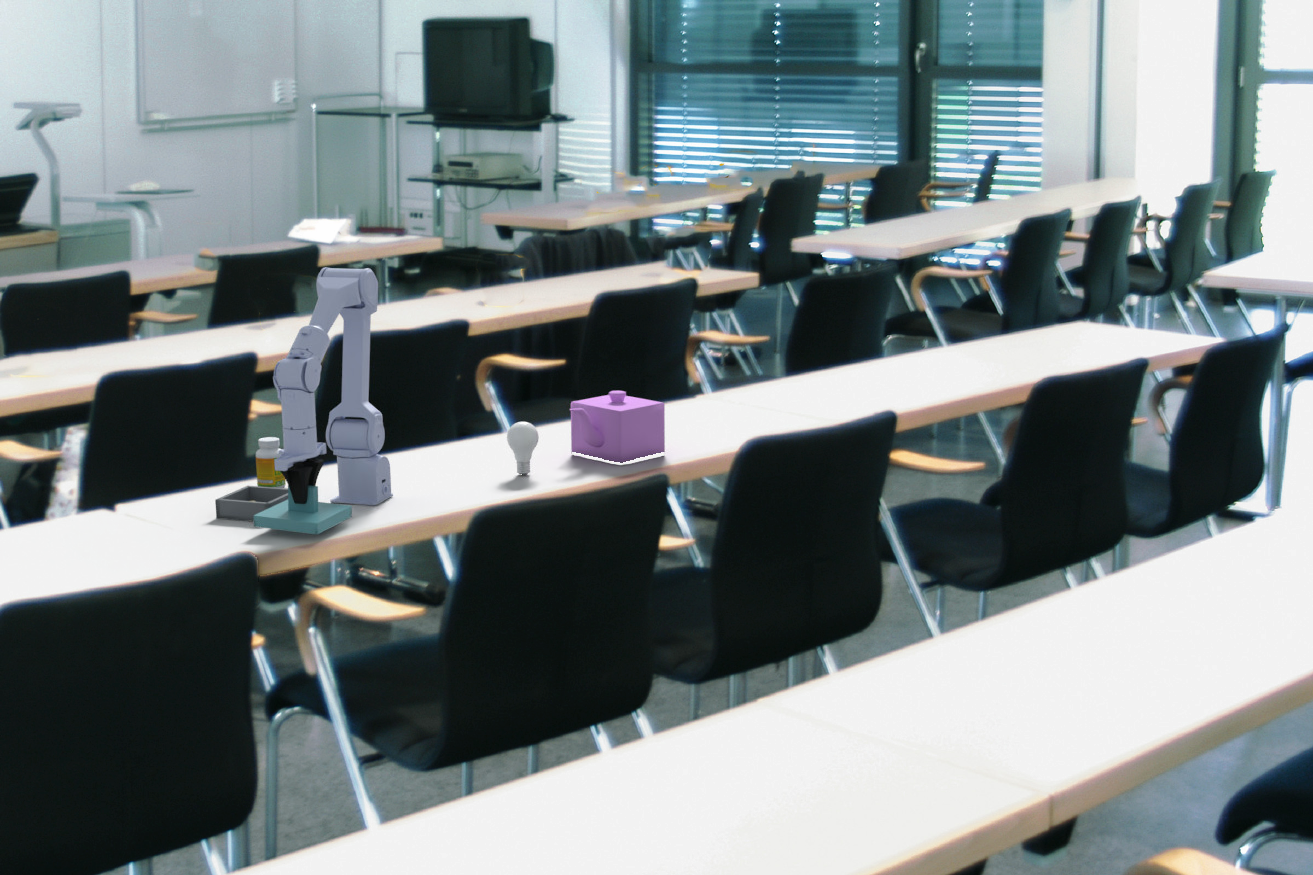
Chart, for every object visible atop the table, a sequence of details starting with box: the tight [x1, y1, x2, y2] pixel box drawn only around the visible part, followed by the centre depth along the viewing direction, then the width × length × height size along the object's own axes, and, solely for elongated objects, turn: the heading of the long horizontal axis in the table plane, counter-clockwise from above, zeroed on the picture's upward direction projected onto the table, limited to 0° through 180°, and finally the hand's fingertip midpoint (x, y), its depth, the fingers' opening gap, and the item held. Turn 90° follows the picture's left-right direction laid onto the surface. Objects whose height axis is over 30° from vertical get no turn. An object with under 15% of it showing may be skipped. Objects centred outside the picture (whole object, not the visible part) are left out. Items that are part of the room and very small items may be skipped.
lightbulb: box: [506, 421, 539, 476], centre depth 315 cm, size 6×6×11 cm
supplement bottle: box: [255, 436, 287, 488], centre depth 306 cm, size 5×5×10 cm
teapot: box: [569, 390, 666, 463], centre depth 331 cm, size 15×25×14 cm, turn 136°
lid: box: [253, 484, 353, 536], centre depth 276 cm, size 12×12×6 cm
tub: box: [215, 485, 288, 522], centre depth 288 cm, size 11×11×4 cm
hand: (303, 501), depth 276 cm, fingers closed on lid
